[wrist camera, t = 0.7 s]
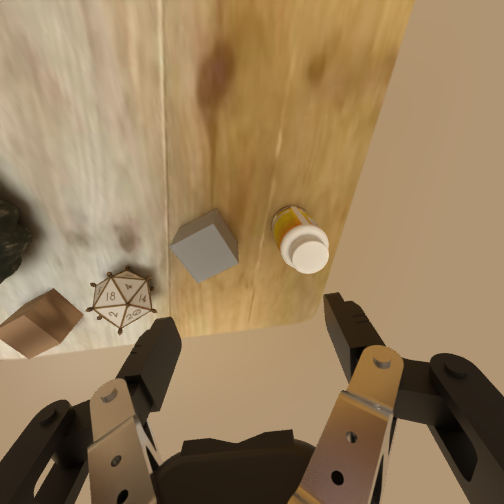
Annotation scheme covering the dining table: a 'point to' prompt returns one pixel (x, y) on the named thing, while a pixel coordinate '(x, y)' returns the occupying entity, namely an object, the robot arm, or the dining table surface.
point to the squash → (11, 240)
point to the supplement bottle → (300, 240)
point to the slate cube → (206, 246)
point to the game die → (122, 298)
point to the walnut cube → (40, 324)
